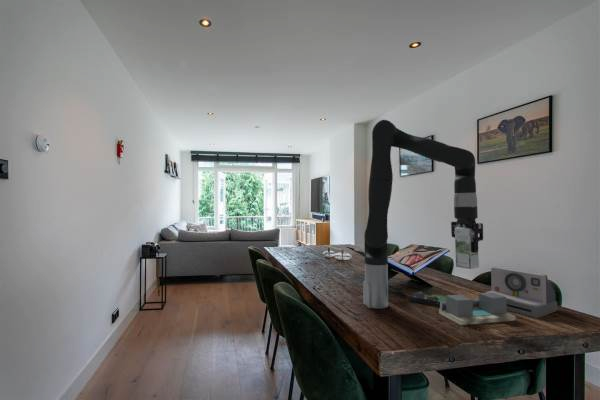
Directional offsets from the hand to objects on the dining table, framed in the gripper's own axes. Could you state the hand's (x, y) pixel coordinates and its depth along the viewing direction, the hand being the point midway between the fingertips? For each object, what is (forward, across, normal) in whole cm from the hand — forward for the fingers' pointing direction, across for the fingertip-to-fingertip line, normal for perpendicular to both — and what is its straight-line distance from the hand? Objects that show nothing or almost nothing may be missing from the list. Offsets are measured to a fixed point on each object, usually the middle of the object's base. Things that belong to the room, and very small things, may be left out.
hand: (466, 250), depth 116 cm
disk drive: (+25, -21, -2) cm, 33 cm away
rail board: (+24, -1, +4) cm, 25 cm away
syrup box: (+6, 0, 0) cm, 6 cm away
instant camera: (+25, -8, +29) cm, 39 cm away
